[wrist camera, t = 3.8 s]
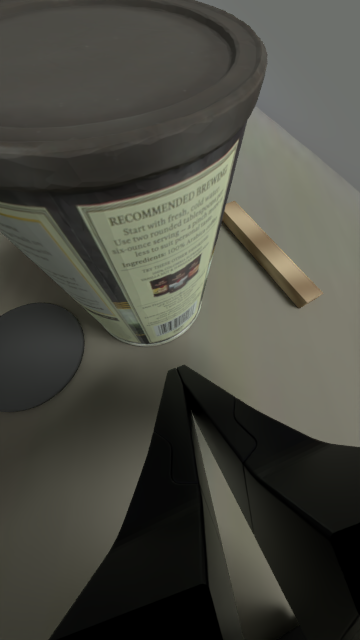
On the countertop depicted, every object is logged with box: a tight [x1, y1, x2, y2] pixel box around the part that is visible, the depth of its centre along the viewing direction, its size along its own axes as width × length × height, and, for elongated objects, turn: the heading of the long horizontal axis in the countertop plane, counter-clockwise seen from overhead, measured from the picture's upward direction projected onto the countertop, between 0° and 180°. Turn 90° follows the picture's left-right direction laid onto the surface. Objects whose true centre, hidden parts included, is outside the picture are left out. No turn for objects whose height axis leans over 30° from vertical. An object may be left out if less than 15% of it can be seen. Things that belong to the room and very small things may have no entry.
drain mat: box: [0, 303, 84, 412], centre depth 16 cm, size 9×9×1 cm
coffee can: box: [0, 0, 267, 346], centre depth 11 cm, size 10×10×14 cm
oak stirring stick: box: [222, 201, 323, 308], centre depth 20 cm, size 14×2×2 cm, turn 29°
